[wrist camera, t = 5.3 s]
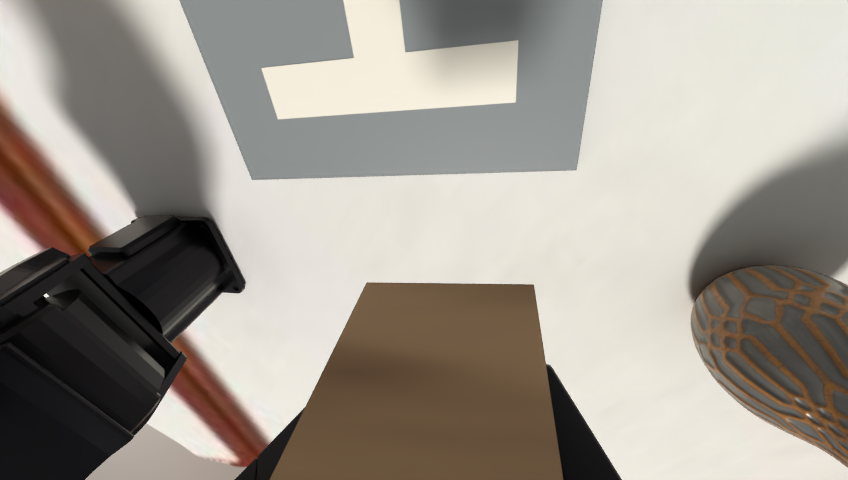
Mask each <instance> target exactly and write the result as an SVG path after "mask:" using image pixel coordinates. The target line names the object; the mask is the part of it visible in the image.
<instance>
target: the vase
mask: <svg viewBox="0 0 848 480" xmlns="http://www.w3.org/2000/svg"><path fill="white" fill-rule="evenodd" d="M691 330H692V336H693V340H694V343H695V346H696V349H697V351H698V353H699V355H700V357H701V359H702V360H703V362H704V364H705V366H706V367H707V369H708V370H709V372H710V373H711V375H712V376H713V377H714V378H715V380H716V381H717V382H718V383H719V384H720V386H721V387H722V388H723V389H724V390H725V391H726V392H727V393H728V394H729V395H731V396H732V397H733V398H734V399H735V400H736V401H737V402H738V403H740V404H741V405H742V406H743V407H744V408H746V409H747V410H748V411H750V412H751V413H753V414H754V415H756V416H757V417H759V418H761V419H762V420H764V421H765V422H767V423H769V424H771V425H773V426H775V427H777V428H779V429H781V430H783V431H785V432H787V433H789V434H791V435H793V436H795V437H797V438H799V439H801V440H804V441H806V442H808V443H810V444H812V445H814V446H816V447H818V448H820V449H822V450H823V451H825V452H826V453H828V454H830V455H831V456H833V457H834V458H835V459H837V460H838V461H840V462H841V463H842V464H844V465H845V466H846V467H848V285H847V284H844V283H842V282H840V281H838V280H836V279H833V278H831V277H828V276H825V275H822V274H820V273H817V272H813V271H809V270H806V269H802V268H797V267H790V266H777V265H765V266H754V267H747V268H742V269H738V270H734V271H731V272H729V273H726V274H724V275H722V276H720V277H718V278H717V279H715V280H714V281H712V282H711V283H710V284H709V285H708V286H707V287H706V288H705V289H704V290H703V291H702V292H701V294H700V295H699V296H698V298H697V299H696V301H695V304H694V306H693V309H692V313H691Z"/></svg>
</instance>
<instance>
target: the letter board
mask: <svg viewBox="0 0 848 480" xmlns="http://www.w3.org/2000/svg"><path fill="white" fill-rule="evenodd" d="M602 1H603V0H180V3H181V5H182V8H183V10H184V13H185V15H186V18H187V20H188V23H189V25H190V28H191V30H192V33H193V35H194V37H195V40H196V42H197V45H198V47H199V50H200V52H201V55H202V57H203V60H204V62H205V65H206V67H207V70H208V72H209V75H210V77H211V80H212V82H213V84H214V87H215V89H216V92H217V94H218V97H219V99H220V102H221V104H222V107H223V109H224V112H225V114H226V117H227V119H228V122H229V124H230V127H231V129H232V131H233V134H234V136H235V139H236V141H237V144H238V146H239V149H240V151H241V154H242V156H243V159H244V161H245V164H246V166H247V169H248V171H249V173H250V176H251V178H252V180H265V179H298V178H332V177H365V176H399V175H433V174H466V173H500V172H534V171H567V170H577V164H578V157H579V151H580V144H581V138H582V131H583V125H584V118H585V112H586V105H587V99H588V92H589V86H590V79H591V73H592V66H593V60H594V53H595V47H596V40H597V34H598V27H599V21H600V14H601V8H602Z"/></svg>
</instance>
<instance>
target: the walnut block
mask: <svg viewBox="0 0 848 480" xmlns="http://www.w3.org/2000/svg"><path fill="white" fill-rule="evenodd" d="M270 480H563V474H562V468H561V461H560V455H559V448H558V441H557V435H556V428H555V422H554V415H553V408H552V402H551V395H550V389H549V382H548V375H547V369H546V362H545V356H544V349H543V342H542V336H541V329H540V323H539V316H538V310H537V303H536V296H535V290H534V285H525V284H443V283H366V285H365V287H364V289H363V291H362V293H361V295H360V297H359V299H358V301H357V303H356V305H355V307H354V309H353V311H352V313H351V316H350V318H349V320H348V322H347V324H346V326H345V328H344V330H343V332H342V334H341V336H340V338H339V340H338V342H337V344H336V346H335V348H334V350H333V352H332V354H331V356H330V358H329V360H328V362H327V364H326V366H325V368H324V370H323V372H322V374H321V376H320V379H319V381H318V383H317V385H316V387H315V389H314V391H313V393H312V395H311V397H310V399H309V401H308V403H307V405H306V407H305V409H304V411H303V413H302V415H301V417H300V419H299V421H298V423H297V425H296V427H295V429H294V431H293V433H292V435H291V437H290V439H289V442H288V444H287V446H286V448H285V450H284V452H283V454H282V456H281V458H280V460H279V462H278V464H277V466H276V468H275V470H274V472H273V474H272V476H271V478H270Z"/></svg>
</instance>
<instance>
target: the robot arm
mask: <svg viewBox="0 0 848 480" xmlns="http://www.w3.org/2000/svg"><path fill="white" fill-rule="evenodd" d="M88 252H89V254H90V255H91V256H90V257H88V256H87V255H86V254H85V253H82V254H78V255H73V256H70V255H68V254H67V253H64V252H61V251H59V250H57V249H55V248H53V247H52V248H48V249H45V250H43V251H41V252H39V253H37V254H35V255H33V256H31V257H29V258H27V259H25V260H23V261H21V262H19V263H17V264H15V265H13V266H11V267H9V268H8V269H6V270H4V271H2V272H0V480H85V479H86V478H87V477H88V476H89V474H91V473H92V472H93V471H94V470H95V469H96V468H97V467H98V466H100V465H101V464H102V463H103V462H104V461H105V460H106V459H107V458H108V457H110V456H111V455H112V454H114V453H115V452H116V451H118V450H119V449H120V448H122V447H123V446H124V445H126V444H127V443H128V442H130V441H131V440H132V439H133V437H134V435H135V434H136V433H137V432H138V431H139V430H140V429H141V428H142V427H143V426H144V425H145V424H146V423H147V421H148V420H149V419H150V417H151V416H152V415H153V413H154V412H155V410H156V408H157V407H158V405H159V403H160V402H161V400H162V398H163V397H164V395H165V394H166V392H167V390H168V389H169V387H170V385H171V384H172V382H173V381H174V379H175V377H176V376H177V374H178V372H179V371H180V369H181V368H182V366H183V364H184V363H185V361H186V359H187V356H186V355H185V354H184V353H183V352H179V351H178V350H177V349H176V348H175V347H174V346H173V345H172V344H171V343H172V342H173V341H174V340H175V339H176V338H177V337H178V336H179V335H180V334H181V333H182V332H183V331H184V330H185V329H186V328H187V327H188V326H189V325H190V324H191V323H192V322H193V321H194V320H195V319H196V318H197V317H198V316H199V315H200V314H201V313H202V312H203V311H204V310H205V309H206V308H207V307H208V306H209V305H210V304H211V303H212V302H213V301H214V300H215V299H216V298H217V297H218V296H219V295H220V294H221V293H222V292H225V293H241V292H242V291H243V290H244V289H245V285H244V283H243V281H242V279H241V277H240V275H239V273H238V271H237V269H236V267H235V266H234V264H233V262H232V260H231V258H230V256H229V254H228V252H227V250H226V248H225V246H224V244H223V242H222V240H221V238H220V236H219V234H218V232H217V230H216V228H215V226H214V224H213V223H212V221H211V220H209V219H208V218H204V217H176V216H144V217H142V218H136V219H134V220H133V221H132V222H131V224H130V225H128V226H126V227H124V228H122V229H121V230H119V231H117V232H115V233H113V234H111V235H110V236H108V237H106V238H104V239H102V240H101V241H99V242H97V243H95V244H93V245H91V246H90V247H89V249H88ZM46 293H47V294H48V295H49V297H47V298H45V297H44V296H43V295H44V294H46ZM546 369H547V375H548V382H549V389H550V395H551V402H552V408H553V415H554V422H555V428H556V435H557V441H558V448H559V455H560V461H561V468H562V474H563V480H622V479H621V478H620V476H619V475H618V473H617V471H616V470H615V468H614V466H613V465H612V463H611V462H610V460H609V458H608V457H607V455H606V454H605V452H604V450H603V449H602V447H601V446H600V444H599V442H598V441H597V439H596V437H595V436H594V434H593V433H592V431H591V429H590V428H589V426H588V425H587V423H586V421H585V420H584V418H583V416H582V415H581V413H580V412H579V410H578V408H577V407H576V405H575V404H574V402H573V400H572V399H571V397H570V395H569V394H568V392H567V391H566V389H565V387H564V386H563V384H562V383H561V381H560V379H559V378H558V376H557V375H556V373H555V371H554V370H553V368H552V367H551V366H550V365H548V364H546ZM304 409H305V408H304ZM304 409H303V410H302V411H301V412H300V413H299V414H298V415H297V416H296V417H295V418H294V419H293V420H292V421H291V422H290V423H289V424H288V425H287V426H286V428H285V429H284V430H283V431H282V432H281V433H280V434H279V435H278V436H277V437H276V438H275V439H274V440H273V441H272V442H271V443H270V444H269V445H268V446H267V447H266V448H265V449H264V450H263V451H262V452H261V453H260V454H259V456H258V458H256V459H254V461H253V462H252V463H251V464H250V465H249V466H248V467H247V468H246V469H245V470H244V471H243V472H242V473H241V474H240V475H239V476H238V477H237V478H236V479H235V480H270V478H271V476H272V474H273V472H274V470H275V468H276V466H277V464H278V462H279V460H280V458H281V456H282V454H283V452H284V450H285V448H286V446H287V444H288V442H289V439H290V437H291V435H292V433H293V431H294V429H295V427H296V425H297V423H298V421H299V419H300V417H301V415H302V413H303V411H304Z"/></svg>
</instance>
